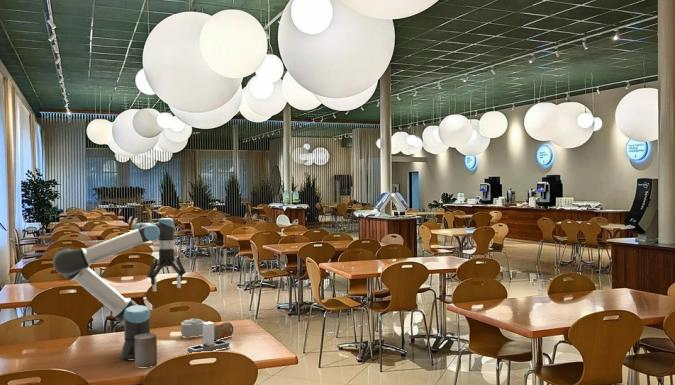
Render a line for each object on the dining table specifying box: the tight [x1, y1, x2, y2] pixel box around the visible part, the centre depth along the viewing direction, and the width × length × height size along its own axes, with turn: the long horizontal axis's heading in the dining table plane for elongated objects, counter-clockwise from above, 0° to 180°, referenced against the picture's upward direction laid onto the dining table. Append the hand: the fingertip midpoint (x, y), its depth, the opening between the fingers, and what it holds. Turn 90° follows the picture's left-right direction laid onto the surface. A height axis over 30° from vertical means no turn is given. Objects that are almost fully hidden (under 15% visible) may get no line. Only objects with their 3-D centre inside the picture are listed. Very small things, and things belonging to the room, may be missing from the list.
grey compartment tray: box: [187, 340, 230, 353], centre depth 291 cm, size 19×7×3 cm, turn 134°
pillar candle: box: [134, 332, 158, 368], centre depth 268 cm, size 10×10×15 cm
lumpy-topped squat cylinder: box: [180, 317, 206, 337], centre depth 322 cm, size 10×13×9 cm
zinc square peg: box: [202, 321, 215, 347], centre depth 291 cm, size 4×4×14 cm
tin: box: [214, 322, 234, 340], centre depth 314 cm, size 15×3×8 cm, turn 143°
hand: (166, 289), depth 302 cm, fingers open, 13 cm apart
